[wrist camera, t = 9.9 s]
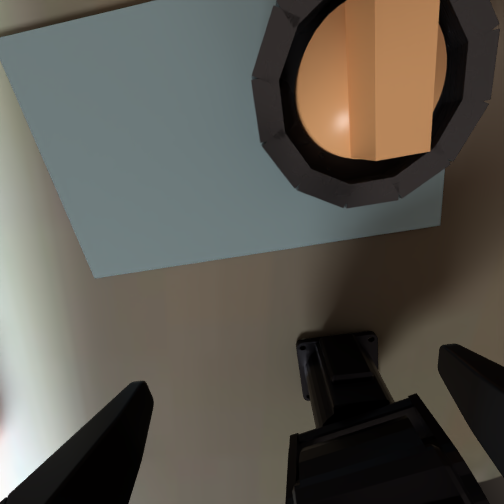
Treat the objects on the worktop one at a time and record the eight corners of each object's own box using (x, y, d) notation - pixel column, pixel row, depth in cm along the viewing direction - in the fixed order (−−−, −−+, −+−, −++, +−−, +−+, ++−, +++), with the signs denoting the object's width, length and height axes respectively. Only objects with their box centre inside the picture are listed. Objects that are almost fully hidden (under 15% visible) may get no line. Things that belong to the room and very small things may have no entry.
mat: (436, 223, 19) (440, 225, 18) (97, 275, 21) (94, 278, 20) (459, -68, 13) (465, -74, 13) (-3, 42, 15) (-9, 39, 15)
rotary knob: (422, 146, 14) (491, 146, 10) (301, 167, 15) (318, 176, 11) (430, -8, 12) (525, -91, 8) (286, 24, 12) (300, -38, 8)
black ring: (431, 177, 17) (479, 187, 13) (269, 205, 18) (272, 220, 14) (445, -35, 13) (517, -103, 10) (240, 12, 14) (234, -34, 11)
